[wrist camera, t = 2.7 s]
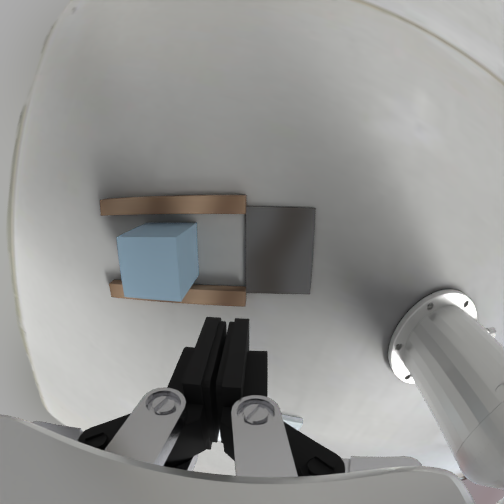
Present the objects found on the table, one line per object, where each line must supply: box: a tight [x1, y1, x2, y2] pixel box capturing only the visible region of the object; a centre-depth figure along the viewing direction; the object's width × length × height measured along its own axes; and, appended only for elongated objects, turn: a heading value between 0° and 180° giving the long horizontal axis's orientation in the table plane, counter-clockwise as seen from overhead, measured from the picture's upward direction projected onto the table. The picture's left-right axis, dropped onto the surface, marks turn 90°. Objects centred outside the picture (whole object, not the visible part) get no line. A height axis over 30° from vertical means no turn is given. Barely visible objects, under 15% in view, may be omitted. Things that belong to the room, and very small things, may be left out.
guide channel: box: [100, 195, 315, 306], centre depth 26 cm, size 20×10×1 cm, turn 90°
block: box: [116, 223, 199, 302], centre depth 23 cm, size 5×5×6 cm
